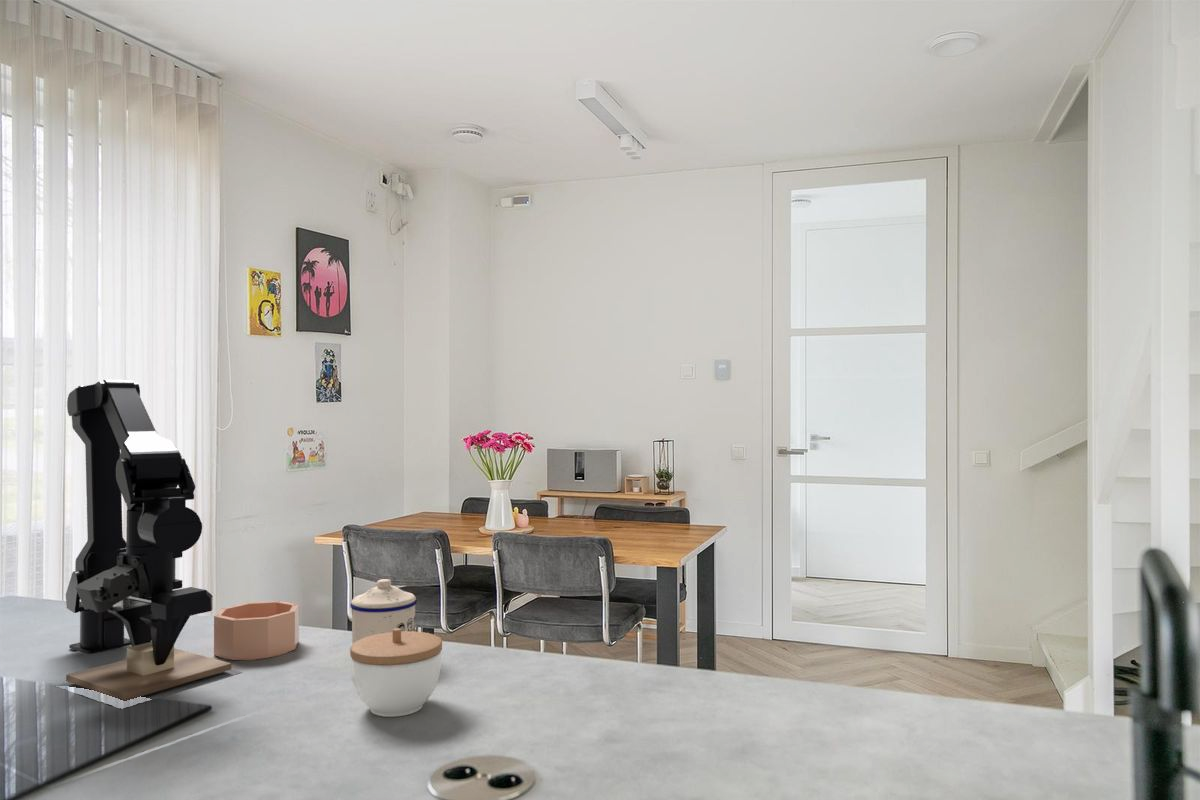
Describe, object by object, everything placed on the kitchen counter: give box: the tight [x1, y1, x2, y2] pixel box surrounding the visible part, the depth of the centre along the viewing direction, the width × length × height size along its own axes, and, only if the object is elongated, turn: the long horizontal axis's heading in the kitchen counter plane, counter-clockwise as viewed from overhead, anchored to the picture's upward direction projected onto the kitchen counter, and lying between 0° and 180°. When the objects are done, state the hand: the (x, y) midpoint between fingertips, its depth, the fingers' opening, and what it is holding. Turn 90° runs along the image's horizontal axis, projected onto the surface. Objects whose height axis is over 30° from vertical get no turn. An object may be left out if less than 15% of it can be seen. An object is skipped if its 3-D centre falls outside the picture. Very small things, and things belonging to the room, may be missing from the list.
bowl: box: [213, 600, 300, 661], centre depth 121 cm, size 11×11×6 cm
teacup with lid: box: [350, 578, 418, 645], centre depth 116 cm, size 12×9×12 cm
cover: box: [65, 641, 232, 701], centre depth 107 cm, size 14×14×4 cm
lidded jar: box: [349, 628, 443, 718], centre depth 97 cm, size 11×11×9 cm
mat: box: [58, 668, 243, 700], centre depth 107 cm, size 16×16×1 cm
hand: (150, 661), depth 107 cm, fingers closed on cover, 4 cm apart
